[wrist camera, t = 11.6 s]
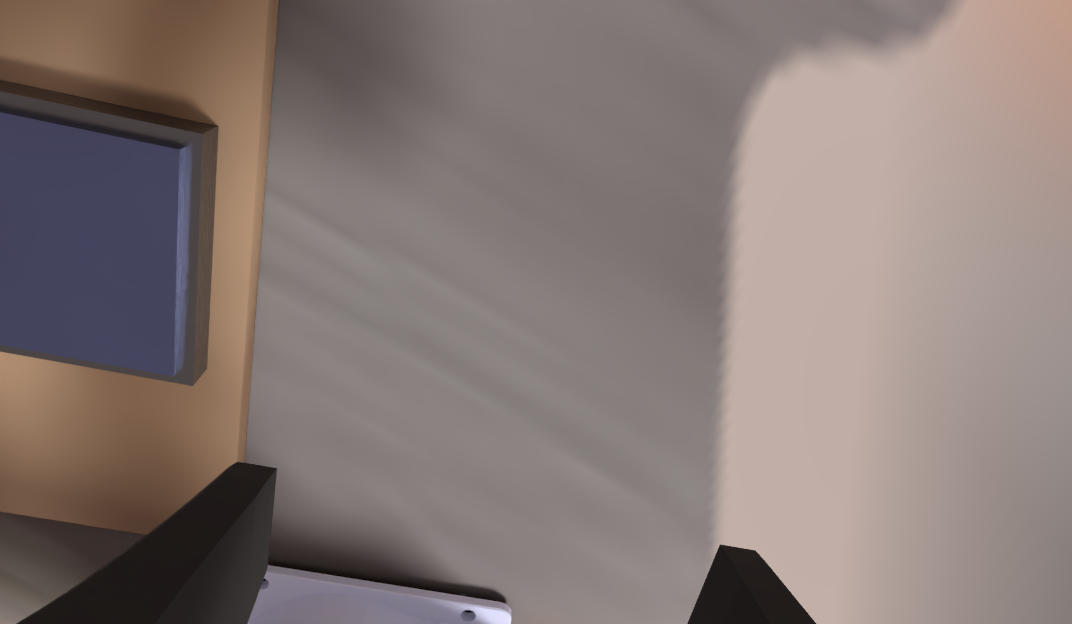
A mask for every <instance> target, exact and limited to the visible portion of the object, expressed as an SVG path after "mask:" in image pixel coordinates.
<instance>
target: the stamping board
mask: <svg viewBox="0 0 1072 624" xmlns="http://www.w3.org/2000/svg"><path fill="white" fill-rule="evenodd" d="M278 7H279V0H0V80H5V81H9V82H14V83H19V84H23V85H28V86H33V87H37V88H42V89H47V90H52V91H56V92H61V93H66V94H70V95H75V96H80V97H84V98H89V99H94V100H99V101H103V102H108V103H113V104H117V105H122V106H127V107H131V108H136V109H141V110H146V111H150V112H155V113H160V114H164V115H169V116H174V117H178V118H183V119H188V120H192V121H197V122H202V123H207V124H211V125H216V126H219V129H218V150H217V171H216V193H215V214H214V235H213V256H212V278H211V299H210V320H209V341H208V363H207V370H206V371H205V372H204V373H203V374H202V376H201V377H200V378H199V379H198V381H197V382H196V383H195V384H194V386H189V385H183V384H178V383H172V382H167V381H161V380H156V379H150V378H144V377H139V376H133V375H128V374H122V373H117V372H111V371H105V370H100V369H94V368H89V367H83V366H78V365H72V364H66V363H61V362H55V361H50V360H44V359H39V358H33V357H27V356H22V355H16V354H11V353H5V352H0V512H6V513H13V514H19V515H25V516H31V517H38V518H44V519H50V520H56V521H63V522H69V523H75V524H81V525H88V526H94V527H100V528H106V529H113V530H119V531H125V532H131V533H137V534H144V535H147V534H148V533H149V532H151V531H152V530H153V529H155V528H156V527H157V526H158V525H160V524H161V523H162V522H164V521H165V520H166V519H167V518H169V517H170V516H171V515H173V514H174V513H175V512H176V511H177V510H179V509H180V508H181V507H182V506H183V505H185V504H186V503H187V502H188V501H190V500H191V499H192V498H193V497H194V496H196V495H197V494H198V493H199V492H200V491H201V490H203V489H204V488H205V487H206V486H207V485H208V484H210V483H211V482H212V481H213V480H214V479H215V478H217V477H218V476H219V475H220V474H221V473H222V472H223V471H225V470H226V469H227V468H228V467H229V466H231V465H232V464H234V463H236V462H242V463H245V450H246V437H247V423H248V410H249V396H250V383H251V370H252V356H253V343H254V329H255V316H256V302H257V289H258V276H259V262H260V249H261V235H262V222H263V208H264V195H265V182H266V168H267V155H268V141H269V128H270V114H271V101H272V88H273V74H274V61H275V47H276V34H277V20H278Z"/></svg>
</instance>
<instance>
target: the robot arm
mask: <svg viewBox="0 0 1072 624" xmlns="http://www.w3.org/2000/svg"><path fill="white" fill-rule="evenodd" d="M276 472H277V468H271V467H266V466H260V465H254V464H248V463H242V462H236V463H234V464H232V465H231V466H229V467H228V468H227V469H226V470H225V471H223V472H222V473H221V474H220V475H219V476H218V477H217V478H215V479H214V480H213V481H212V482H211V483H210V484H208V485H207V486H206V487H205V488H204V489H203V490H201V491H200V492H199V493H198V494H197V495H196V496H194V497H193V498H192V499H191V500H190V501H188V502H187V503H186V504H185V505H183V506H182V507H181V508H180V509H179V510H177V511H176V512H175V513H174V514H173V515H171V516H170V517H169V518H167V519H166V520H165V521H164V522H162V523H161V524H160V525H158V526H157V527H156V528H155V529H153V530H152V531H151V532H149V533H148V534H147V535H146V536H144V537H143V538H142V539H141V540H139V541H138V542H137V543H135V544H134V545H133V546H131V547H130V548H129V549H127V550H126V551H125V552H123V553H122V554H121V555H119V556H118V557H116V558H115V559H114V560H112V561H111V562H109V563H108V564H106V565H105V566H104V567H102V568H101V569H99V570H98V571H96V572H95V573H94V574H92V575H91V576H89V577H88V578H87V579H85V580H84V581H82V582H81V583H79V584H78V585H77V586H75V587H74V588H72V589H71V590H69V591H68V592H66V593H65V594H63V595H61V596H60V597H58V598H57V599H55V600H54V601H52V602H51V603H49V604H48V605H46V606H44V607H43V608H41V609H40V610H38V611H36V612H35V613H33V614H32V615H30V616H28V617H27V618H25V619H23V620H22V621H20V622H18V623H17V624H511V609H510V607H509V606H508V605H506V604H505V603H502V602H497V601H491V600H485V599H479V598H472V597H466V596H460V595H453V594H447V593H441V592H434V591H428V590H422V589H416V588H409V587H403V586H397V585H390V584H384V583H378V582H371V581H365V580H359V579H353V578H346V577H340V576H334V575H327V574H321V573H315V572H309V571H302V570H296V569H290V568H283V567H277V566H271V565H268V557H269V546H270V536H271V525H272V515H273V504H274V494H275V483H276ZM263 579H266V580H267V581H264V580H263ZM465 610H470V611H473V612H470V613H467V612H465ZM688 624H816V623H815V622H814V620H813V619H812V618H811V617H810V616H809V615H808V613H807V612H806V611H805V609H804V608H803V607H802V606H801V605H800V604H799V602H798V601H797V600H796V598H795V597H794V596H793V595H792V594H791V592H790V591H789V590H788V589H787V587H786V586H785V585H784V584H783V583H782V581H781V580H780V579H779V578H778V577H777V575H776V574H775V573H774V572H773V570H772V569H771V568H770V567H769V566H768V564H767V563H766V562H765V561H764V560H763V559H762V558H761V557H760V555H759V554H758V553H757V552H756V551H754V550H749V549H743V548H737V547H731V546H725V545H720V546H719V548H718V551H717V553H716V556H715V558H714V561H713V563H712V565H711V568H710V570H709V573H708V575H707V578H706V580H705V582H704V585H703V587H702V590H701V592H700V595H699V597H698V599H697V602H696V604H695V607H694V609H693V612H692V614H691V616H690V619H689V621H688Z"/></svg>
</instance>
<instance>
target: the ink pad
mask: <svg viewBox="0 0 1072 624" xmlns="http://www.w3.org/2000/svg"><path fill="white" fill-rule="evenodd" d="M218 129H219V126H216V125H211V124H207V123H202V122H197V121H192V120H188V119H183V118H178V117H174V116H169V115H164V114H160V113H155V112H150V111H146V110H141V109H136V108H131V107H127V106H122V105H117V104H113V103H108V102H103V101H99V100H94V99H89V98H84V97H80V96H75V95H70V94H66V93H61V92H56V91H52V90H47V89H42V88H37V87H33V86H28V85H23V84H19V83H14V82H9V81H5V80H0V352H5V353H11V354H16V355H22V356H27V357H33V358H39V359H44V360H50V361H55V362H61V363H66V364H72V365H78V366H83V367H89V368H94V369H100V370H105V371H111V372H117V373H122V374H128V375H133V376H139V377H144V378H150V379H156V380H161V381H167V382H172V383H178V384H183V385H189V386H194V384H195V383H196V382H197V381H198V379H199V378H200V377H201V376H202V374H203V373H204V372H205V371H206V370H207V363H208V341H209V320H210V299H211V278H212V256H213V235H214V214H215V193H216V171H217V150H218Z"/></svg>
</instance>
